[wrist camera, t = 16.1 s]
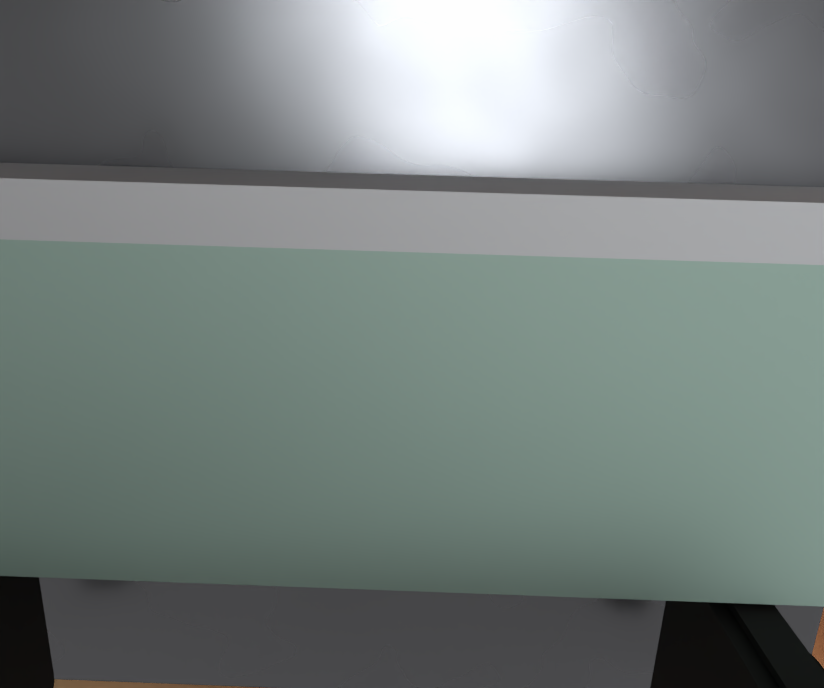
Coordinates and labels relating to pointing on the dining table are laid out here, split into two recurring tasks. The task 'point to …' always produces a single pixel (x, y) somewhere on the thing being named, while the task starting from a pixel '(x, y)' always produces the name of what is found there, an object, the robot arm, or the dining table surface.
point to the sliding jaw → (413, 383)
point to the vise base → (404, 155)
